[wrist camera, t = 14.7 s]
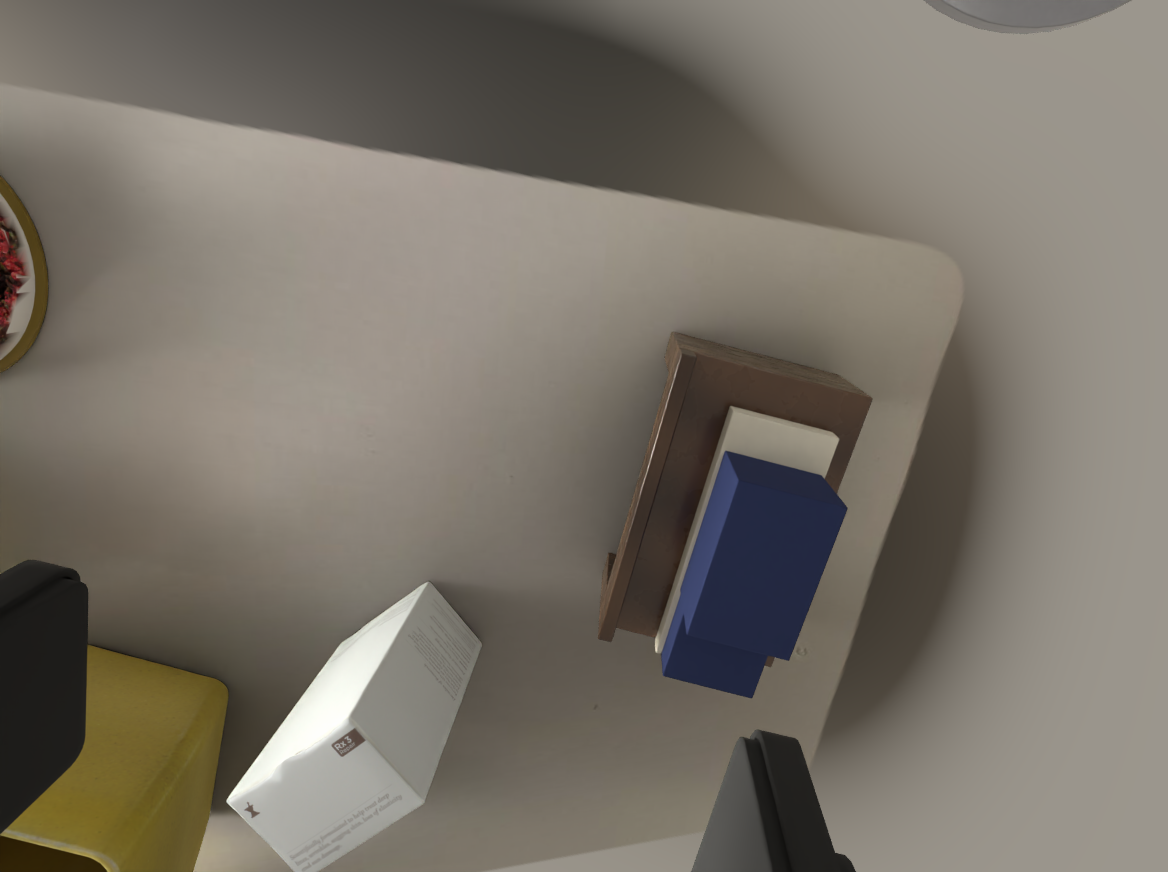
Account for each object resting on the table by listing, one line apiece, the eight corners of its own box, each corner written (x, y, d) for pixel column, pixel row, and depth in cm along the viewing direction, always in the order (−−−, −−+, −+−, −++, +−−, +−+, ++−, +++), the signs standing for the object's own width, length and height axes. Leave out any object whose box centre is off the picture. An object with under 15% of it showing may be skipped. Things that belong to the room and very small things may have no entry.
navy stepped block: (729, 405, 36) (747, 436, 31) (833, 432, 36) (869, 467, 31) (654, 640, 40) (658, 704, 35) (747, 664, 40) (766, 731, 35)
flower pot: (286, 654, 49) (117, 864, 33) (248, 864, 54) (87, 1133, 38) (13, 579, 48) (-294, 754, 32) (2, 798, 54) (-266, 1042, 38)
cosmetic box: (396, 700, 49) (301, 892, 35) (337, 637, 48) (214, 808, 34) (489, 638, 47) (429, 813, 33) (430, 571, 46) (342, 722, 32)
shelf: (671, 331, 41) (681, 352, 34) (839, 374, 41) (884, 405, 34) (602, 574, 46) (597, 639, 38) (753, 612, 46) (776, 685, 38)
